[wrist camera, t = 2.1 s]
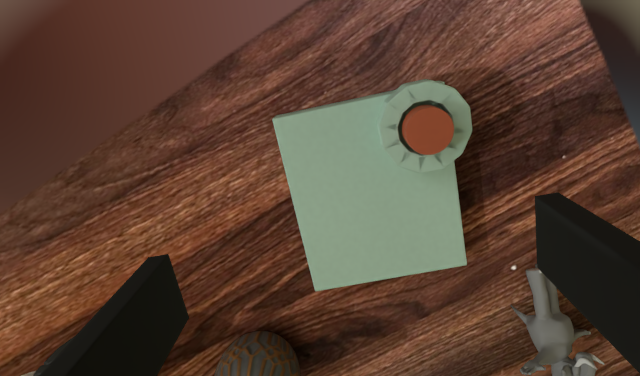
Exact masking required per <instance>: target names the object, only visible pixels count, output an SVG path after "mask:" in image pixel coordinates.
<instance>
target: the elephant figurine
mask: <svg viewBox="0 0 640 376" xmlns="http://www.w3.org/2000/svg"><path fill="white" fill-rule="evenodd" d="M535 266H536V268H533V269H527V270H526V274H527V278H528V281H529V284H530V287H531V290H532V293H533V302H534V308H535V313H536V315H530V316H526V315H525V314H523V313H521V312H520V311H518V310H517V309H516V308H514V307H513V306H512V305H511V307H512V309H513V310H514V311H515V312H516V313H517V314H518V316H519V317H520V318H521V319H522V320H523V321H524V323H525V324H526V325H527V329H528V331H529V333H530V336H531V338H532V341H533V343H534V345H535V346H536V348H537V350H538V352H539V353H538V355H537V356H536V357H535V358H534V359H533V360H529V361H528V362H527V363H525V365H524V366H523V367H522V368H521V369H520V372H521V373H522V374H525V375H527V374H529V375H531V374H532V373H535V371H537V370H546V368H545V367H543V366H542V365H546V364H549V365H551V368H552V376H594V375H595V372H596V370H598V369H597V368H596V367H595V365H594V362H593V360H595V361H597V362H599V363H601V364H603V365H604V363H603V362H602V361H601V360H600V359H598V358H597V357H596V356H594V355H592V354H590V353H586V352H579V353H577V354H576V357H575V358H574V359H573V360H572V359H571V358H569V357H568V355H569V354H570V353H571V352H572V343H573V342H574V341H575V340H576V339H577V338H578V337H581V336H583V335H588V334H591V333H590V331H587V330H583V329H581V330H580V329H575V330H574V329H573V326H572V322H571V320H570V318H569V317H568V316H566V315H564V314H562V313H561V312H560V309H559V301H558V295H557V288H556V287H555V286H554V284H553V283H552V282H551V281H550V280H549V279H548V278H547V277H546V276H545V275H544V274H543V273H542V272H541V271H540V270H539V269H538V268H537V264H535Z"/></svg>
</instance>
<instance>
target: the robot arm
mask: <svg viewBox="0 0 640 376" xmlns="http://www.w3.org/2000/svg"><path fill="white" fill-rule="evenodd" d="M535 213H536V245H537V268H538V269H539V270H540V271H541V272H542V273H543V274H544V275H545V276H546V277H547V278H548V279H549V280H550V281H551V282H552V283H553V284H554V286H555V287H556V288H557V289H558V290H559V291H560V292H561V293H562V294H563V295H564V296H565V297H566V298H567V299H568V300H569V301H570V302H571V303H572V304H573V305H574V306H575V307H576V308H577V309H578V310H579V311H580V312H581V313H582V314H583V315H584V316H585V317H586V318H587V319H588V321H589V322H590V323H591V324H592V325H593V326H594V327H595V328H596V329H597V330H598V331H599V332H600V333H601V334H602V335H603V336H604V337H605V338H606V339H607V340H608V341H609V342H610V343H611V344H612V345H613V346H614V347H615V348H616V349H617V350H618V351H619V352H620V353H621V354H622V355H623V357H624V358H625V359H626V360H627V361H628V362H629V363H630V364H631V365H632V366H633V367H634V368H635V369H636V370H637V371H638V372H639V373H640V241H638V240H636V239H635V238H633V237H631V236H630V235H628V234H626V233H625V232H623V231H621V230H620V229H618V228H616V227H615V226H613V225H611V224H610V223H608V222H606V221H605V220H603V219H601V218H600V217H598V216H596V215H595V214H593V213H591V212H590V211H588V210H586V209H585V208H583V207H581V206H580V205H578V204H576V203H575V202H573V201H571V200H570V199H568V198H566V197H565V196H563V195H561V194H560V193H553V194H546V195H540V196H535ZM188 319H189V316H188V313H187V310H186V307H185V304H184V301H183V298H182V295H181V292H180V289H179V286H178V283H177V280H176V276H175V273H174V270H173V267H172V264H171V261H170V258H169V255H168V254H167V255H160V256H154V257H148V259H147V260H146V261H145V262H144V263H143V264H142V265H141V266H140V267H139V268H138V269H137V270H136V271H135V273H134V274H133V275H132V276H131V277H130V278H129V279H128V280H127V281H126V282H125V283H124V284H123V285H122V287H121V288H120V289H119V290H118V291H117V292H116V293H115V294H114V295H113V296H112V297H111V298H110V299H109V301H108V302H107V303H106V304H105V305H104V306H103V307H102V308H101V309H100V310H99V311H98V312H97V313H96V315H95V316H94V317H93V318H92V319H91V320H90V321H89V322H88V323H87V324H86V325H85V326H84V327H83V329H82V330H81V331H80V332H79V333H78V334H77V335H76V336H75V337H73V338H72V339H70V340H69V341H68V342H66V343H65V344H64V345H62V346H61V347H59V348H58V349H57V350H56V351H55V352H54V353H53V354H52V355H51V356H50V357H49V358H48V359H47V360H46V361H45V362H44V365H42V366H40V368H39V369H38V370H37V371H36V372H35V373H34V374H33V376H157V374H158V372H159V371H160V369H161V367H162V365H163V363H164V362H165V360H166V358H167V356H168V354H169V353H170V351H171V349H172V347H173V345H174V344H175V342H176V340H177V338H178V336H179V335H180V333H181V331H182V329H183V328H184V326H185V324H186V322H187V320H188Z"/></svg>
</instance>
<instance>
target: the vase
mask: <svg viewBox="0 0 640 376" xmlns="http://www.w3.org/2000/svg"><path fill="white" fill-rule="evenodd" d="M214 376H300V366H299V362H298V359H297V356H296V354H295V352H294V350H293V348H292V347H291V345H290V344H289V343H288V342H287V341H286V340H285V339H283V338H282V337H281V336H279V335H277V334H275V333H272V332H268V331H255V332H250V333H247V334H245V335H243V336H241V337H240V338H238V339H237V340H235V341H234V342H233V343H232V344H231V345H230V346H229V347H228V348H227V350H226V351H225V352H224V354H223V355H222V357H221V359H220V361H219V363H218V366H217V368H216V371H215V375H214Z"/></svg>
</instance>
